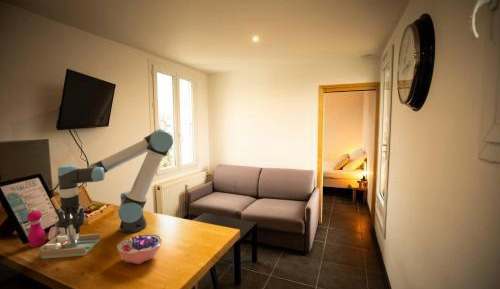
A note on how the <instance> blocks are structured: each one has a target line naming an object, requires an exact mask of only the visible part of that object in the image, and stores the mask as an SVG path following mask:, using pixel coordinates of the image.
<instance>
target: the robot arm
mask: <svg viewBox="0 0 500 289" xmlns="http://www.w3.org/2000/svg"><path fill="white" fill-rule="evenodd" d="M173 144H174V138H173V135H172V134H171V133H170V132H169V131H167V130H163V129H157V130H155V131H152V133H150V134H148V135H147V136H145V137H143V139H142V140H140V141H138V142H136V143H134V144H132V145H130V146H128V147H125V148H124V149H122V150H119V151H117V152H116V153H113V154H111V155H109V156H107V157H104V158H103V159H101V160H99V161H97V162H94V163H92V164H90V165H89V166H88V167H86V168H84V167H83V168H77V166H76V165H75V164H65V165H62V166H59V167H58V168H57V181H58V182H57V183H58V191H59V197H60V198H59V201H60V203H59V204H60V207H58V208H57V209H56V208H55V211H54V212H55V213H56V216H57V218H58V219H59V224H60V227H61V228H65V234H67V239H68V241H70V240H71V239H70V229H69V224H68V221H69V220H70V214H71V216H72V218H73V222H74V226H75V227H74V228H73V232H74V241H76V240H77V239H78V238H79V235H80V233H81V227H82V226H83V225H84V223H85V222H84V221H85V210H86V206H81V204H80V197H79V186H78V185H79V184H85V183H97V182H103V181H104V180H105V174H106V173H108V172H109V171H112V170H114V169H116V168H117V167H120V166H122V165H123V164H124V165H125V164H126V163H128V162H130V161H132V160H134V159H136V158H138V157H140V156H142V155H144V154H146V153H147V154H146V156H145V158H144V159H143V162H142V164H141V167H140V168H139V171H138V173H137V175H136V177H135V180H134V182H133V184H132V187H131V188H130V190H129V191H125V192H121V193H120V197H119V198H120V205H119V208H118V212H117V213H118V214H117V215H118V217H119V219H120V223H119V227H118V228H119V232H121V233H122V234H131V233H137V232H140V231H143V230H144V229H145V228H146V227H147V225H148V224H147V223H148V222H147V219H146V218H145V215H144V208H145V206H146V203H147V193H148V191H149V189H150V187H151V185H152V182H153V181H154V178H155V176H156V173H157V171H158V169H159V167H160V164H161V162H162V160H163V158H165V157H167V155H168V153H169V151H170V149H171V148H172V147H173ZM64 216H65V219H64ZM58 219H57V220H58Z"/></svg>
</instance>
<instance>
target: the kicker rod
mask: <svg viewBox="0 0 500 289" xmlns="http://www.w3.org/2000/svg"><path fill="white" fill-rule="evenodd" d="M68 224H69V229H70V239H71V241H68V240H65V241H64V242H63V243H61V248H60V249H63V248H73V247H77V246H78V245H80V240H79V241H77V240H76V241H74V232H73V228H74V227H75V226H74V222H73V219H70V220H69V221H68Z"/></svg>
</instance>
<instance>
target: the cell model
mask: <svg viewBox="0 0 500 289" xmlns="http://www.w3.org/2000/svg"><path fill="white" fill-rule="evenodd" d="M162 241H163V240H162V238H161V236H160V235H157V234H148V233H147V234H146V233H145V234H138V235H137V236H136V235H135V236H132V237H129V238H126V239H124V240H122V241H121V242H120V243H118V244H117V246H116V248H117V250H118V252H119V255H120V258H121V259H122V260H123V261H124V262H126V263H129V264H130V263H131V264H135V265H140V264H142V263H144V262H147V261H150V260H151V259H153V258H154V257H155V256H156V255H157V254H158V251H159V249H160V248H161V246H162Z"/></svg>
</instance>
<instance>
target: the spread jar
mask: <svg viewBox="0 0 500 289" xmlns="http://www.w3.org/2000/svg"><path fill="white" fill-rule="evenodd" d="M64 219H65V216H64ZM70 219H73V217H72V216H71V214H70ZM59 234H62V236H67V234H65V228H61V227H60V224H59V219H58V217H57V221H56V222H55V224H54V226H52V227H50V229H49V232H48V236H47V237H48V240H49V241H51V240H52V239H54V238H55V237H56V236H58V235H59Z"/></svg>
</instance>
